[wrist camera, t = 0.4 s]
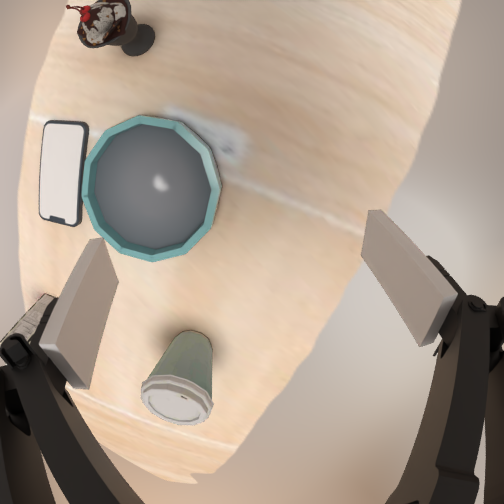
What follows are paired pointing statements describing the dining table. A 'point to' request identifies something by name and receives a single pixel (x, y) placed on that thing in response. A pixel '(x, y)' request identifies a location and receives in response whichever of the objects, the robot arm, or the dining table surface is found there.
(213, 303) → the dining table surface
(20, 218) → the dining table surface
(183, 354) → the disposable coffee cup
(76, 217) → the smartphone
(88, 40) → the sundae
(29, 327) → the candy bar box
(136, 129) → the round tray
